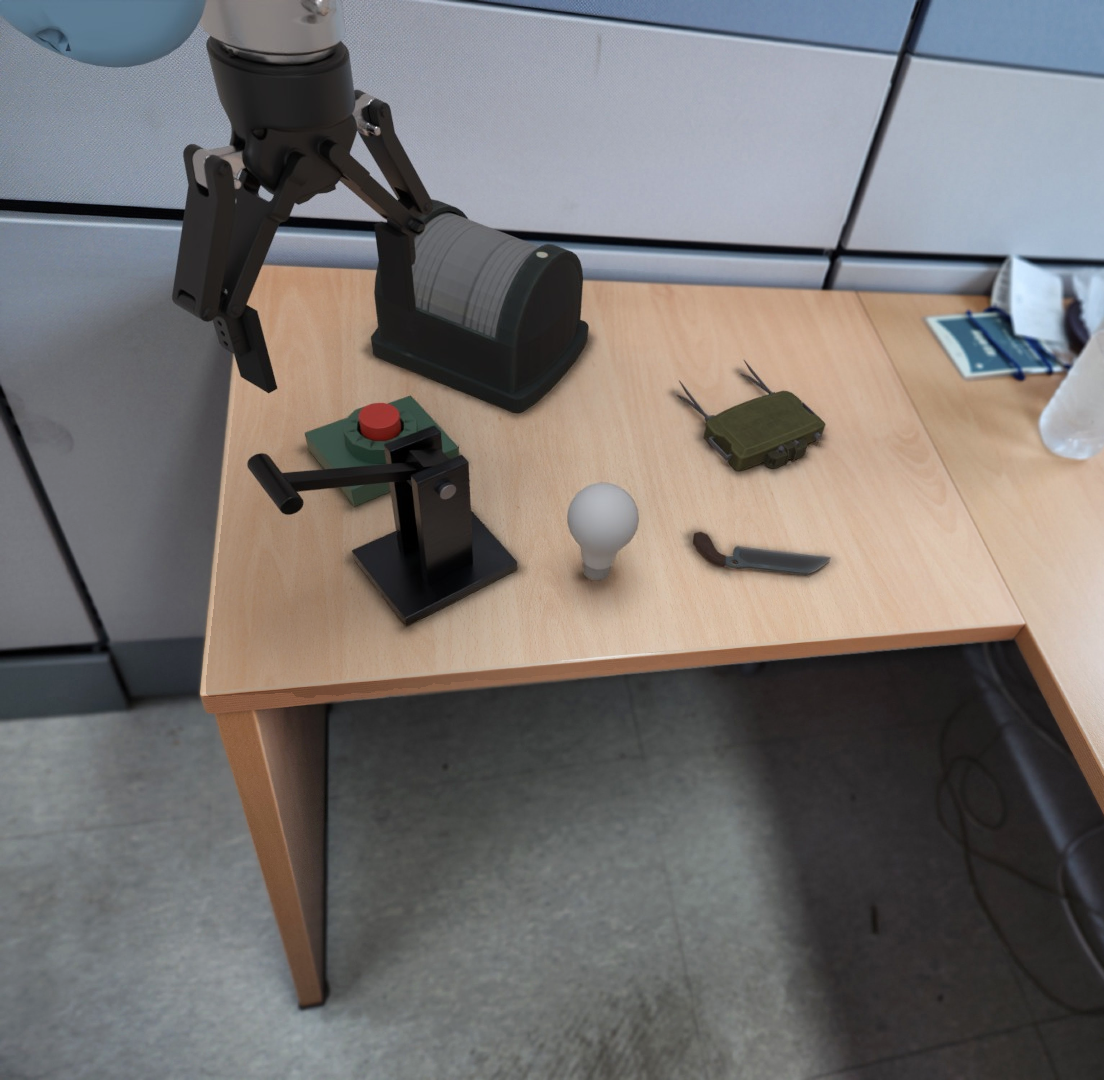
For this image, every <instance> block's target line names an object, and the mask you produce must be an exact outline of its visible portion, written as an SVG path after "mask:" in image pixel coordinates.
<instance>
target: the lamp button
mask: <svg viewBox="0 0 1104 1080" xmlns="http://www.w3.org/2000/svg"><path fill="white" fill-rule="evenodd" d="M363 407H364V406H363ZM361 408H362V407H361ZM359 423H360V429H361V433H362V434H363V436H364V437H366V438H367V439H370V440H372V441H388V440H390V439H393V438H395V437H397V436H398V435H399V433H400V431H401V422H400V414H399V411H398V410H397V409H396V408H395V407H394V406H392V405H390V404H387V403H386V402H374V403H369V404H366V405H365V407H364V408H362V409H361V411H360V412H359Z"/></svg>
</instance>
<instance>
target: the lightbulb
mask: <svg viewBox="0 0 1104 1080" xmlns="http://www.w3.org/2000/svg"><path fill="white" fill-rule="evenodd" d="M639 522H640V516H639V509H638V506H637V503H636V501H635V500H634V498H633V497H632V496H631V494H630V493H629V492H628V491H627V490H626V489H624V488H622V487H621V486H618V485H617V484H614V483H612V482H611V483H610V482H596V483H593V484H589V485H587V486H585V487H583V488H582V489H580V490H579V491H577V493H576V494H575V495H574V497H573V498H572V499H571V502H570V503H569V505H568V508H567V515H566V523H567V526H568V531H569V533H570V535H571V536H572V538H573V540H574V541H575V542H576V543H577V545H579V548H580V558H581V560H582V572H583V574H584V576H585V577H586V578H587V579H589V580H592V581H596V582H599V581H604V580H605V579H607V578H608V577H609V576H610V574H611V570H612V566H613V564H614V563H615V561H616V560H617V559H616V558H617V555H618V553H619V551H621V550H623V548H625V547H626V546H628V544H630V543H631V541H632V540H633V539H634V537H635V535H636V533H637V531H638V528H639Z"/></svg>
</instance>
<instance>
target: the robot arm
mask: <svg viewBox="0 0 1104 1080" xmlns="http://www.w3.org/2000/svg"><path fill="white" fill-rule="evenodd" d="M0 17H1V18H2V19H3V20H4V21H5V22H6V23H8V24H9V25H10V26H11V27H12V28H14V29H15V30H16V31H18V32H19V33H21V34H22V35H24V36H25V37H26V38H29V39H30V40H31V41H33V42H35V43H36V44H37V45H39V46H41V47H43V48H45V49H47V50H49V51H52V52H53V53H56V54H58V55H60V56H63V57H66V58H68V59H71V60H74V61H77V62H79V63H82V64H87V65H91V66H96V67H104V68H113V69H114V68H131V67H137V66H141V65H143V66H144V65H146V64H149V63H152V62H156V61H158V60H160V59H162V58H165V57H167V56H168V55H170V54H172V53H173V52H174V51H176V50H177V49H179V48H180V47H181V46H182V45H183V44H184V43H185V42H186V41H187V40H189V38H190V37H191V36H192V34H193V33H194V31H195V30H196V28H197V26H198V25H200V26H201V28H202V29H203V32H205V33H206V34H208V35H209V37H208V38H207V39H206V43H205V47H206V52H207V56H208V60H209V63H210V67H211V72H212V76H213V80H214V83H215V88H216V92H217V95H218V99H219V103H220V104H221V106H222V108H223V111H224V112H225V114H226V116H227V118H228V120H229V123H230V126H231V127H230V128H231V129H230V130H231V132H230V133H231V134H230V138H229V139H230V140H229V144H228V145H227V146H226V145H225V146H221V147H216V148H212V149H205V148H203V146H200V145H198V144H196V143H190V144H188V145H186V146H185V147H184V149H183V152H182V153H183V154H182V157H183V163H184V168H185V169H184V170H185V174H186V179H187V192H186V200H185V206H184V213H183V219H182V226H181V232H180V240H179V247H178V253H177V254H178V255H177V260H176V267H175V273H174V281H173V287H172V293H171V300H172V302H173V303H174V305H176V306H177V307H180V308H181V309H183V310H184V311H186V312H188V313H189V314H190V315H193V316H195V317H196V318H198V319H200V320H202V321H203V322H212V323H213V326H214V327H213V328H214V330H215V333H216V336H217V340H218V342H219V344H220V346H221V347H222V348H223V349H225V350H227V351H228V352H230V353H231V354H233V355H234V359H235V362H236V366H237V369H238V372H239V376H240V377H241V378H242V379H243V380H245V381H247V382H248V383H250V384H252V385H254V386H256V387H257V388H259V389H260V390H262V391H264V392H265V393H267V394H271V393H273V392H274V391H275V390H278V385H277V380H276V377H275V373H274V369H273V365H272V362H271V359H270V354H269V350H268V347H267V343H266V338H265V334H264V331H263V328H262V324H261V319H260V317H259V312H258V310H257V309H255V308H253V307H252V306H250V305H248V302H249V300H250V298H251V294H252V292H253V290H254V288H255V285H256V282H257V280H258V277H259V275H260V273H261V270H262V268H263V265H264V263H265V260H266V258H267V256H268V252H269V251H270V248H271V245H272V244H273V241H274V238H275V235H276V233H277V230H278V229H279V226H280V224H281V223H285V222H287V221H288V220H289V218H290V216H291V214H292V211H293V209H294V206H295V205H297V206H299V205H302V204H304V203H307V202H308V201H310V200H311V199H312V198H314V197H315V196H317V195H321V194H322V195H323V194H328V193H331V192H333V191H336V190H337V186H336V185H337V184H339V182H340V183H342V184H343V185H344V186H345V187H346V188H348V189H349V190H350V191H351V192H352V193H353V194H355V195H356V196H357V197H358V198H359V199H360V200H362V202H364V203H365V204H366V205H367V206H368V207H370V208H371V209H372V210H373V211H374V212H376V213H377V214H378V215H379V216H380V217H381V218H383V219H384V220H386V222H384V221H379V222H377V223H375V224H373V227H374V236H375V242H376V252H377V257H378V259H377V260H378V262H379V267H380V275H381V282H382V290H383V298H384V299H385V300H387V301H389V302H391V303H393V304H394V305H396V306H398V307H400V308H402V309H404V310H405V311H407V312H411V311H413V310H415V309H416V304H415V294H414V283H413V273H412V265H414V264H415V259H416V253H415V242H414V234H415V235H417V236H419V235H421V234H422V233H423V232H424V230H425V223H424V221H422V220H421V219H419V217H420V216H421V215H422V214H424V215H429V214H430V213H431V212H432V211H433V202H432V200H431V199H432V198H431V196H430V194H429V192H428V190H427V188H426V187H425V185H424V183H423V181H422V179H421V177H420V175H419V174H418V172H417V170H416V169H415V167H414V164H413V163H412V161H411V159H410V157H409V156H408V154H407V152H406V150H405V149H404V146H403V145H402V143H401V141H400V139H399V137H398V135H397V134H396V130H395V125H394V120H393V114H392V109H391V106H390V105H389V103H387V102H385V101H383V100H381V99H379V98H377V97H376V96H373V95H371V94H369V93H367V92H365V91H363V90H361V89H357V88H356V89H355V87H354V79H353V71H352V64H351V56H350V51H349V49H348V47H347V46H346V44H344V42H343V41H342V40H343V39H344V38H345V36H346V31H347V29H346V21H345V14H344V7H343V0H0ZM357 133H358V135H359V137H360V138H361V140H362V142H363V144H364V145H365V147H366V149H367V150H368V152H369V153H370V155H371V157H372V159H373V160H374V162H375V163H376V165H377V167H378V169H379V170H380V172H381V174H382V176H383V177H384V178H385V180H386V182H387V183H388V185H389V187H390V189H391V191H392V192H393V193H394V195H395V197H396V198H395V197H394V196H393V195H392V194H391V192H389V191H388V190H387V189H386V188H384V186H383V185H382V184H380V182H378V181H377V180H376V179H375V178H374V177H373V176H372V175H371V173H370V171H369V170H368V169H367V168H365V166H363V165H362V164H361V163H360V162H359V161H358V160H357V159H355V157H353V156H352V155H351V151H352V148H353V145H354V142H355V139H356V137H357ZM261 187H262V188H263V189H264V190H265V191H267V193H269V194H271V195H272V198H271V199H270V200H267V199H265V198H264V197H262V196H261V195H260V194H259V192H260V189H261Z"/></svg>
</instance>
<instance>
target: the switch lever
mask: <svg viewBox="0 0 1104 1080" xmlns="http://www.w3.org/2000/svg"><path fill="white" fill-rule="evenodd" d="M447 460H450V459H449V458H448V457H447V456H446V455H445V454H444V452H443V451H442V450H441V449H440V448H436V449H422V450H409V453H408V456H407V459H406V462H405V463H393V464H381V465H369V466H357V467H345V468H333V469H324V468H323V469H310V470H309V469H308V470H300V471H287V472H282V471H281V470H280V468H279V467H278V466H277V464H276V463H275V462H274V460H273V459H272V457H271V456H270V455H269V454H267V453H263V452H259V453H256V454H253V455H252V456H250V458H249V459H248V460H247V463H246V465H247V469H248V470H249V471H250V473H251V474H252V475H253V477H254V478H255V479H256V481H257V482H258V483H259V485H260V486H261V487H262V489H263V490H264V492H265V493H266V494H267V495H268V497H269V498H270V499H271V501H272V502H273V504H274V505H275V506H276V507H277V509H278V510H279V511H280V513H282V514H283V515H285V516H286V515H287V516H292V515H294V514H297V513H299V512H300V511H301V510H302V508H303V507H304V504H305V503H304V499H303V497H302V496H301V495H300V493H301V492H307V491H308V492H309V491H318V490H328V489H338V488H339V487H349V486H358V485H368V484H378V483H388V482H397V481H407V482H408V483H409V484H410V485H411V486H412V482H411V475H413V474H416V473H418V472H420V471H423V470H425V469H428V468H430V467H433V466H435V465H438V464H440V463H442V462H445V461H447ZM339 489H340V488H339ZM299 492H300V493H299Z"/></svg>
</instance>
